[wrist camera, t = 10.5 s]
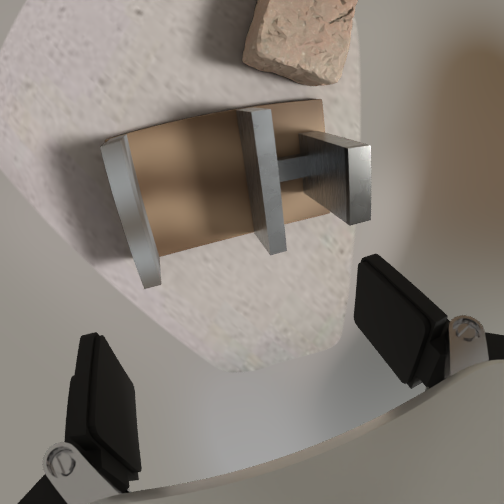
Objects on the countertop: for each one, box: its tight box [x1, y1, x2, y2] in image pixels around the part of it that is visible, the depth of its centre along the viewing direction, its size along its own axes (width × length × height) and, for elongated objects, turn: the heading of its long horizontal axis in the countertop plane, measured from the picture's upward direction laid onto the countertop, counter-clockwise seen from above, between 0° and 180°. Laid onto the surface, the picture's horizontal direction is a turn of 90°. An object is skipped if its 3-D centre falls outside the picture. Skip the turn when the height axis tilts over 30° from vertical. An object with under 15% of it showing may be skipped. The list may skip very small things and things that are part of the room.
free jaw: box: [236, 107, 371, 255], centre depth 25 cm, size 12×8×8 cm, turn 8°
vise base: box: [100, 99, 330, 289], centre depth 27 cm, size 12×20×6 cm, turn 98°
